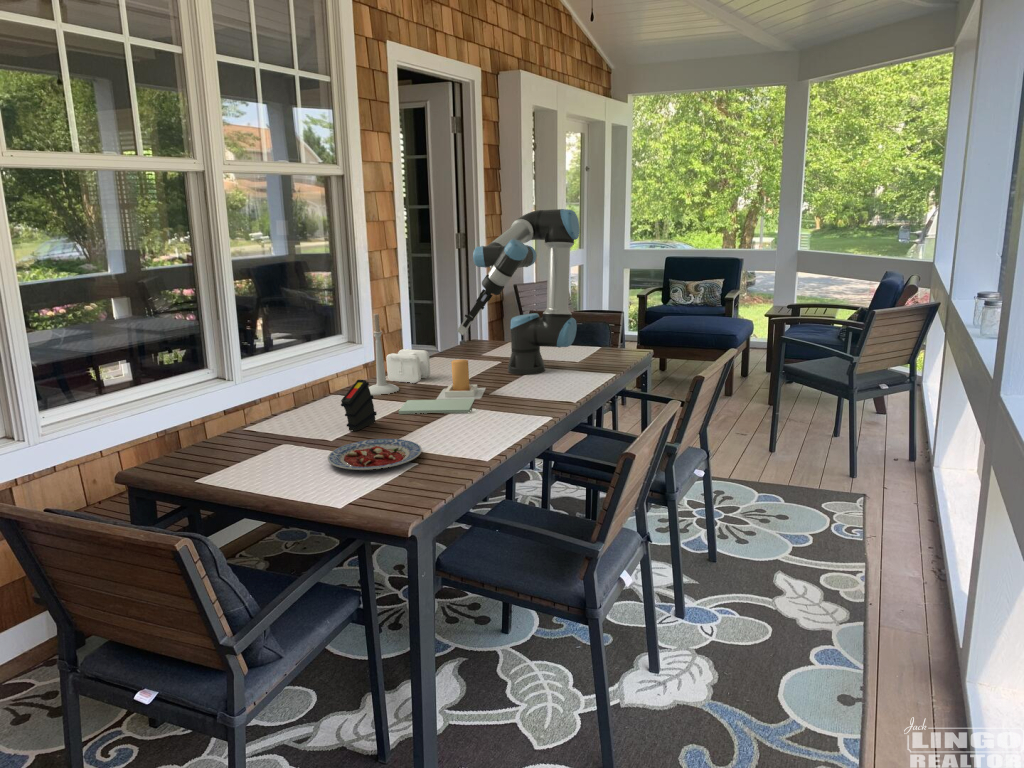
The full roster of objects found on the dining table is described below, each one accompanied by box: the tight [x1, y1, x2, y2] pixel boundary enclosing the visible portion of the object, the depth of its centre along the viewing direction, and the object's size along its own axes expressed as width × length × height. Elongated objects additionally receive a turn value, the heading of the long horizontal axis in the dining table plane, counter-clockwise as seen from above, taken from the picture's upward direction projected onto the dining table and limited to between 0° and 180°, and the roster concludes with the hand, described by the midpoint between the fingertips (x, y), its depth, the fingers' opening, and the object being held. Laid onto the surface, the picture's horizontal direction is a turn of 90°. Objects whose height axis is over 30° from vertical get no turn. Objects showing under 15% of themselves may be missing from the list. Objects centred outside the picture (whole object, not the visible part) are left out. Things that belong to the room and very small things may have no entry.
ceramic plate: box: [327, 438, 423, 471], centre depth 213 cm, size 26×26×3 cm
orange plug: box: [451, 358, 470, 391], centre depth 278 cm, size 6×6×12 cm
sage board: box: [398, 399, 476, 415], centre depth 264 cm, size 24×14×1 cm, turn 85°
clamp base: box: [435, 384, 487, 400], centre depth 279 cm, size 16×16×3 cm
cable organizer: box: [385, 348, 431, 384], centre depth 306 cm, size 15×11×12 cm
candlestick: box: [368, 313, 400, 396], centre depth 288 cm, size 13×13×30 cm
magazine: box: [340, 379, 377, 432], centre depth 244 cm, size 4×13×15 cm, turn 155°
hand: (464, 327), depth 275 cm, fingers open, 13 cm apart
